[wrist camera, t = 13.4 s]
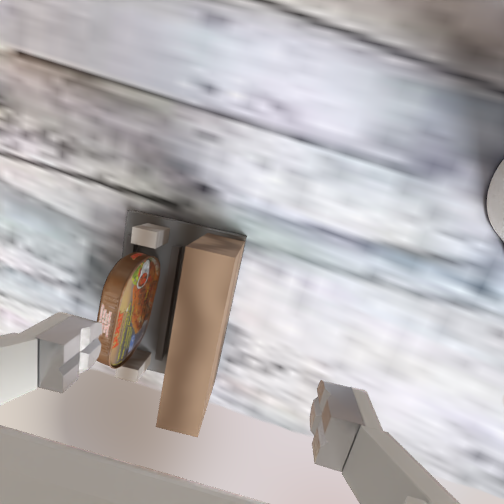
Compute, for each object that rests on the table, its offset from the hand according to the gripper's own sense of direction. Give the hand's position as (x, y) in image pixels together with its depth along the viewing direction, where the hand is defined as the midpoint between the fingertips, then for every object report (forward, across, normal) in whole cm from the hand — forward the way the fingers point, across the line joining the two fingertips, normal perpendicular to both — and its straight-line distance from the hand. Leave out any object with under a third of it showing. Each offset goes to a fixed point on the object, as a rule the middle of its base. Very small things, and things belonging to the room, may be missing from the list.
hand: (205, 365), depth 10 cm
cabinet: (+26, +10, +12) cm, 30 cm away
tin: (+25, +14, +12) cm, 31 cm away
